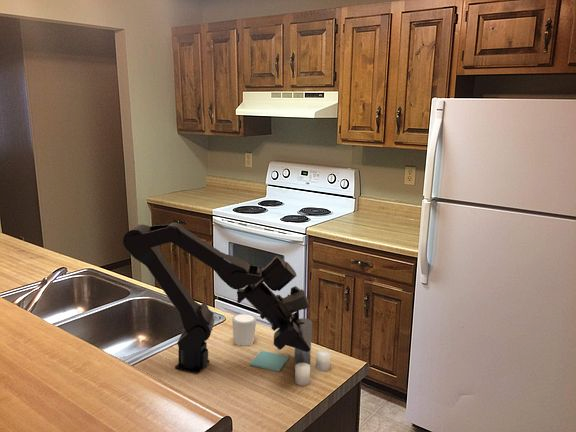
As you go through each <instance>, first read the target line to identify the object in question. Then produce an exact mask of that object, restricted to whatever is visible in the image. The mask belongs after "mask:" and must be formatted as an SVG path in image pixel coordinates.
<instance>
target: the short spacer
mask: <svg viewBox="0 0 576 432" xmlns="http://www.w3.org/2000/svg"><path fill="white" fill-rule="evenodd" d="M294 383H295V384H297V385H299V386H303V387H304V386H308V385H309V384H310V383H311V364H310V365H309V364H307V363H298V364H296V365H295V371H294Z"/></svg>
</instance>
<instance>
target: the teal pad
mask: <svg viewBox="0 0 576 432" xmlns="http://www.w3.org/2000/svg"><path fill="white" fill-rule="evenodd" d="M289 359H290V356H289V355H286V354H280V353H277V352H276V353H275V352H270V351H266V350H260V351H259V353H258V354H257V355H255V357H254V359H252V360H251V362H250V363H249V366H251V367H256V368H260V369H266V370H269V371H273V372H281V370H282V368H283V367H284V366H285V365H286V363H287V361H289Z"/></svg>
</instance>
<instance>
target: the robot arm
mask: <svg viewBox="0 0 576 432" xmlns="http://www.w3.org/2000/svg"><path fill="white" fill-rule="evenodd" d="M169 243H172V244H174V245H175V246H177V247H178V248H180V249H182V250H183V251H185V252H186V253H188V254H189V255H191V256H193V257H194V258H195V259H197V260H199V261H200V262H202V263H203V264H205V265H206V266H208V267H210V269H212V270H213V271H215V273H216V275H218V277H219V278H220V280H221V281H223V282H224V284H226V285H227V286H228V287H230V288H231V289H233V290H236V294H237V295H236V296H237V300H236V303H237V304H240V303H241V302H243V300H247V302H249V304H250V305H251V306H252V307H254V308H255V309H256V310H257V312H258V313H259V317H260V319H262V320H263V319H265V320H266V321H267V322H268V323H269V324H270V325H271V327H270V328H271V329H272V331H273V332H274V334H273V345H274V347H276V349H277V350H279V351H280V350H282V349H283V348H285V346H287V347H290V348H294V349H295V348H297V349H299V350H302V351H305V352H309V351H310V347H309V346H308V344H307V343H306V341H305V340H304V339H303V337H302V336H301V334H300V325H298V326H297V325H296V320H297V319H300V311H301V310H307V309H308V308H309V306H310V305H309V304H310V303H309V299H308V297H307V294H306V291H305V290H304V289H300V288H299V287H297V286H296V285H295V286H292V287H291V288H290V292H289V293H290V294H289V293H288V294H287V296H285V297H282V295H280V294H275V293H274V292H276V291H278V292H280V291H281V290H282V289H283V288H285V287H286V286H287V285H288V284H289V283H291V282H292V280H294V279H295V278H296V277H297V272H296V271H295V269H294V268H293V266H292V265H291V264H290V263H289V262H287V261H286V260H284V259H283V258H281V257H280V256H279V255H275V256H274V257H273V259H272V260H271V261H270V262H269V263H268V264H267V265H266V266H265V267H263V266H259V265H253V264H249V263H248V261H245V260H244V259H241V258H240V257H236V256H235V255H231V254H226V253H225V252H221V251H220V250H219V249H217V248H216V247H214V246H213V245H211V244H209V243H208V242H207V241H205V240H203V239H202V238H200V237H199V236H197V235H195V234H194V233H192V232H191V231H189V230H188V229H186V228H185V227H184V226H183V225H182V224H181V223H178V222H172V223H168V224H157V225H151V226H150V225H147V224H137V225H136V226H134V227H132V228H131V229H130V230H128V231H126V233H125V234H124V235H123V240H122V245H123V247H124V249H125V251H126V252H128V253H129V255H130V256H132V257H133V258H134V259H135V260H136V261H138V262H139V263H141V264H143V266H145V267H146V268H147V270H148V271H149V273H150V274H151V275H152V276H153V277H154V280H155V281H156V283H158V285H159V286H160V288H161V289H162V290H163V292H164V294H165V295H166V296H167V298H168V299H169V301H170V302H171V303H172V305H173V307H174V308H175V309H176V310H177V312H178V314H179V317H180V320H181V321H180V322H181V324H182V327H183V330H182V332H181V334H180V337H179V339H178V340H177V346H178V348H177V349H178V354H177V355H178V359H177V360H178V363H177V364H176V365H174V369H175V370H179V371H184V372H187V373H192V374H199V373H200V372H201V371H202V370H204V369H205V368H206V366H208V364H210V359H209V348H207V345H208V344H207V343H208V342H207V341H208V339H209V338H210V337H211V333H212V331H213V328H214V325H215V318H214V312H213V311H211V310H210V309H209V306H208V304H207V303H206V301H203V302H202V303H201V304H200V303H199V302H197V301H195V300H194V299H193V297H192V296H191V294H190V293H189V291H188V290H187V288H186V287H185V285H184V284H183V283H182V282H181V280H180V278H179V277H178V276H177V274H176V273H175V271H174V269H173V268H172V266H171V265H170V264H169V263H168V261H167V260H166V258H165V257H164V255H163V254H162V250H161V246H160V245H164V244H169Z"/></svg>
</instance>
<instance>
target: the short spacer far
mask: <svg viewBox="0 0 576 432" xmlns="http://www.w3.org/2000/svg"><path fill="white" fill-rule="evenodd" d="M331 355H332V353H331V351H329V350H326V349H319V350H317V351H316V358H315V369H316V370H317V371H320V372H328V371H330V368H331Z"/></svg>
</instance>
